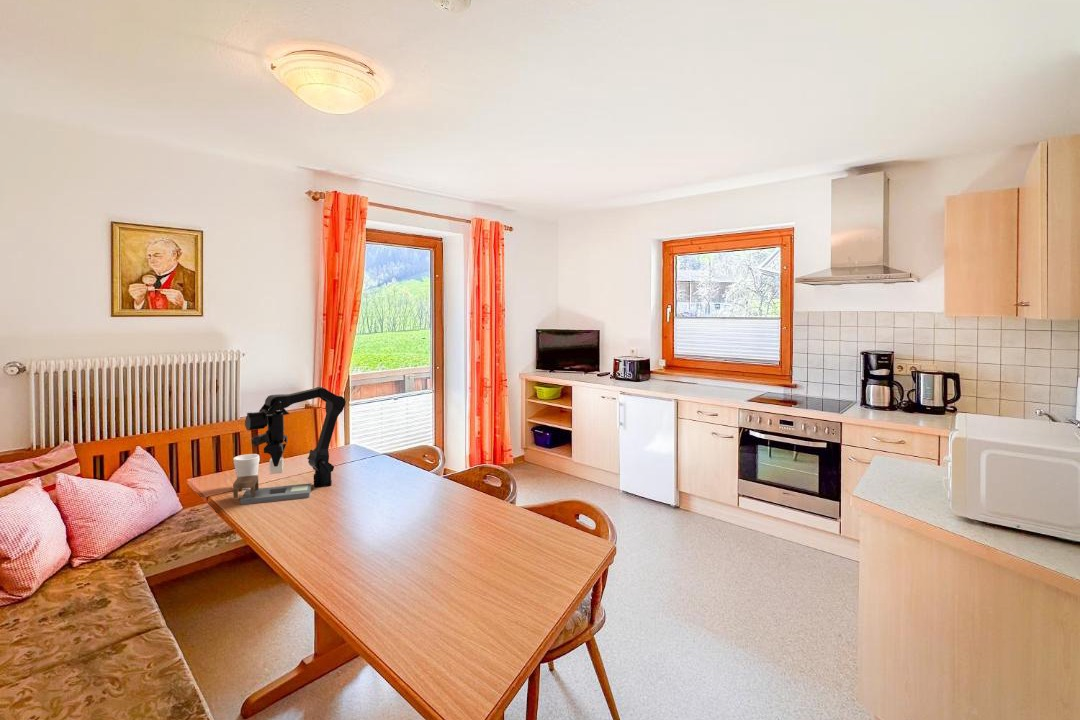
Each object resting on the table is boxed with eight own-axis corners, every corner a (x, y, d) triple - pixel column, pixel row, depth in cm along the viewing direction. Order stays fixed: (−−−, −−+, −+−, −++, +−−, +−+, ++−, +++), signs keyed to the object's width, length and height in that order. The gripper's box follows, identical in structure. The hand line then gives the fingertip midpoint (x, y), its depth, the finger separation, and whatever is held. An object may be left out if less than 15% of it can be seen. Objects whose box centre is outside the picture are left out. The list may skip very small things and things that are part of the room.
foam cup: (240, 492, 201) (238, 461, 200) (230, 487, 206) (229, 457, 205) (264, 486, 208) (263, 456, 207) (254, 481, 214) (253, 452, 213)
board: (311, 487, 207) (311, 482, 207) (309, 497, 196) (309, 492, 196) (246, 494, 198) (246, 489, 198) (240, 504, 187) (240, 499, 187)
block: (283, 470, 199) (283, 456, 199) (282, 473, 195) (282, 459, 195) (271, 471, 198) (271, 457, 197) (269, 474, 193) (269, 460, 193)
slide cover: (258, 488, 199) (258, 475, 198) (254, 496, 190) (253, 482, 189) (238, 490, 196) (238, 476, 196) (233, 498, 187) (232, 484, 187)
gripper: (257, 423, 201) (258, 460, 202) (247, 433, 183) (249, 473, 184) (287, 421, 205) (288, 457, 206) (281, 431, 187) (282, 470, 188)
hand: (276, 464), depth 196 cm, fingers closed on block, 4 cm apart
